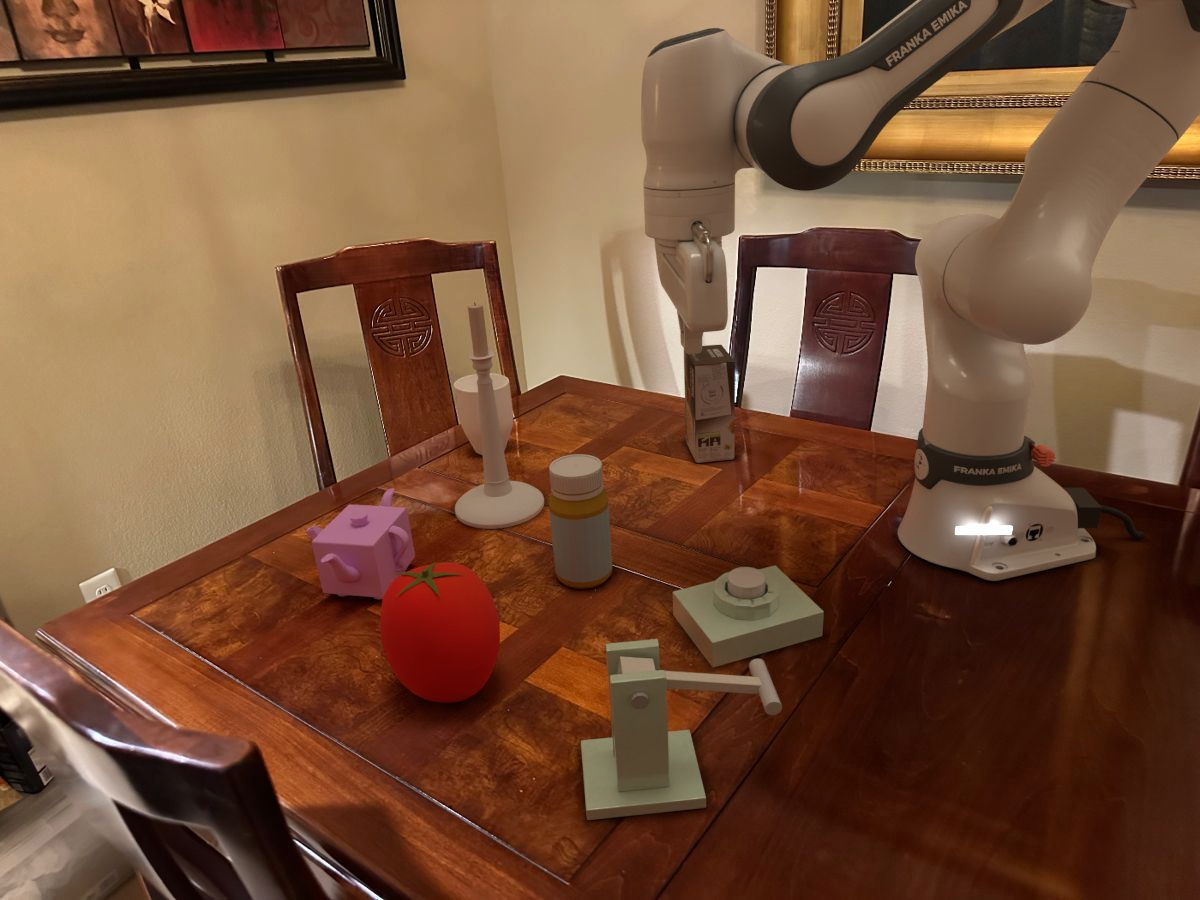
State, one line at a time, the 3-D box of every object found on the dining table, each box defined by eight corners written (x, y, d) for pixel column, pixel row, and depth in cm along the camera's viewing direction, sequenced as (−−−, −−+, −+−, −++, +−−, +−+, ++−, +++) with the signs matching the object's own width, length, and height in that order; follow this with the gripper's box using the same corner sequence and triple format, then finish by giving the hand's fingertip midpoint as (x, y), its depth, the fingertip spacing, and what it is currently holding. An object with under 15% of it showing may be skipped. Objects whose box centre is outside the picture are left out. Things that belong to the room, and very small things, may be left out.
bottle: (606, 593, 99) (599, 479, 93) (549, 589, 101) (538, 477, 95) (617, 561, 106) (610, 453, 99) (563, 558, 107) (553, 451, 101)
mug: (509, 461, 135) (501, 391, 130) (456, 460, 136) (446, 391, 131) (525, 432, 145) (518, 366, 141) (476, 432, 147) (467, 366, 142)
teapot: (353, 541, 114) (339, 477, 110) (443, 547, 111) (433, 482, 107) (280, 620, 98) (261, 548, 94) (383, 630, 95) (369, 556, 91)
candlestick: (553, 487, 126) (534, 289, 113) (532, 530, 114) (509, 315, 102) (471, 485, 128) (444, 290, 116) (442, 527, 116) (409, 316, 104)
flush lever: (761, 676, 73) (767, 654, 72) (778, 720, 68) (785, 697, 67) (613, 666, 72) (617, 643, 71) (620, 711, 67) (624, 687, 66)
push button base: (774, 588, 98) (775, 551, 96) (822, 636, 90) (825, 597, 88) (672, 615, 95) (671, 577, 93) (712, 668, 86) (712, 628, 84)
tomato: (366, 689, 86) (340, 572, 80) (451, 634, 94) (433, 523, 88) (446, 743, 79) (425, 618, 73) (531, 678, 86) (518, 560, 80)
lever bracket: (689, 739, 77) (687, 624, 72) (706, 808, 70) (705, 686, 65) (581, 750, 77) (571, 635, 72) (586, 820, 70) (575, 699, 64)
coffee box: (736, 459, 130) (736, 361, 124) (695, 464, 130) (694, 365, 123) (721, 436, 139) (721, 343, 132) (683, 440, 138) (681, 346, 132)
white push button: (753, 576, 93) (753, 563, 92) (772, 595, 89) (772, 581, 88) (721, 585, 92) (720, 571, 91) (738, 604, 88) (738, 590, 87)
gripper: (745, 230, 73) (743, 380, 79) (702, 198, 92) (703, 321, 97) (673, 236, 73) (677, 386, 79) (644, 202, 91) (649, 326, 97)
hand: (691, 350), depth 88 cm, fingers closed
